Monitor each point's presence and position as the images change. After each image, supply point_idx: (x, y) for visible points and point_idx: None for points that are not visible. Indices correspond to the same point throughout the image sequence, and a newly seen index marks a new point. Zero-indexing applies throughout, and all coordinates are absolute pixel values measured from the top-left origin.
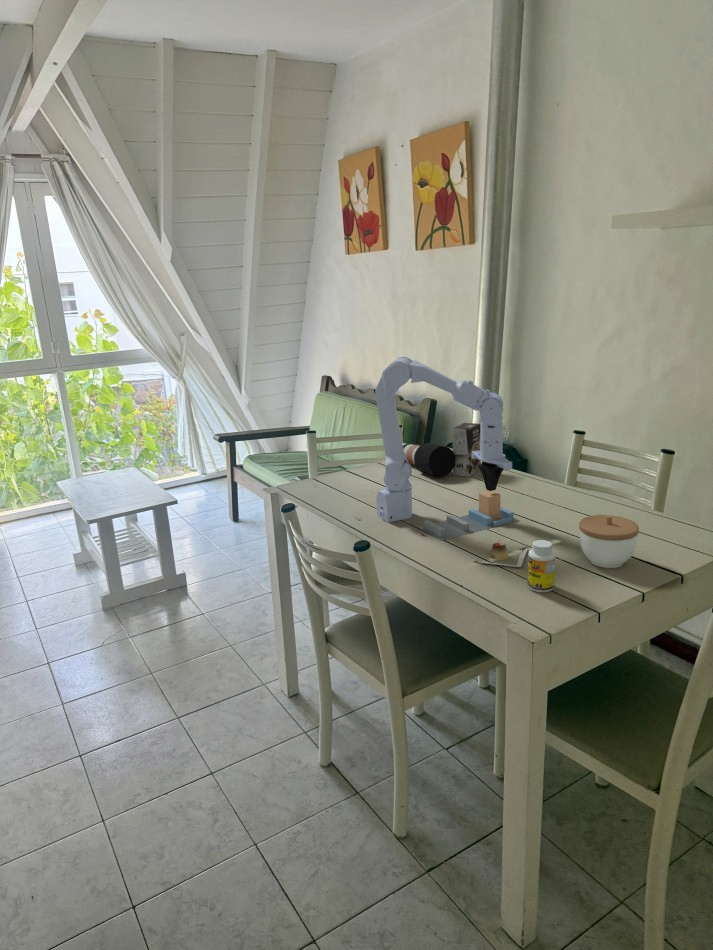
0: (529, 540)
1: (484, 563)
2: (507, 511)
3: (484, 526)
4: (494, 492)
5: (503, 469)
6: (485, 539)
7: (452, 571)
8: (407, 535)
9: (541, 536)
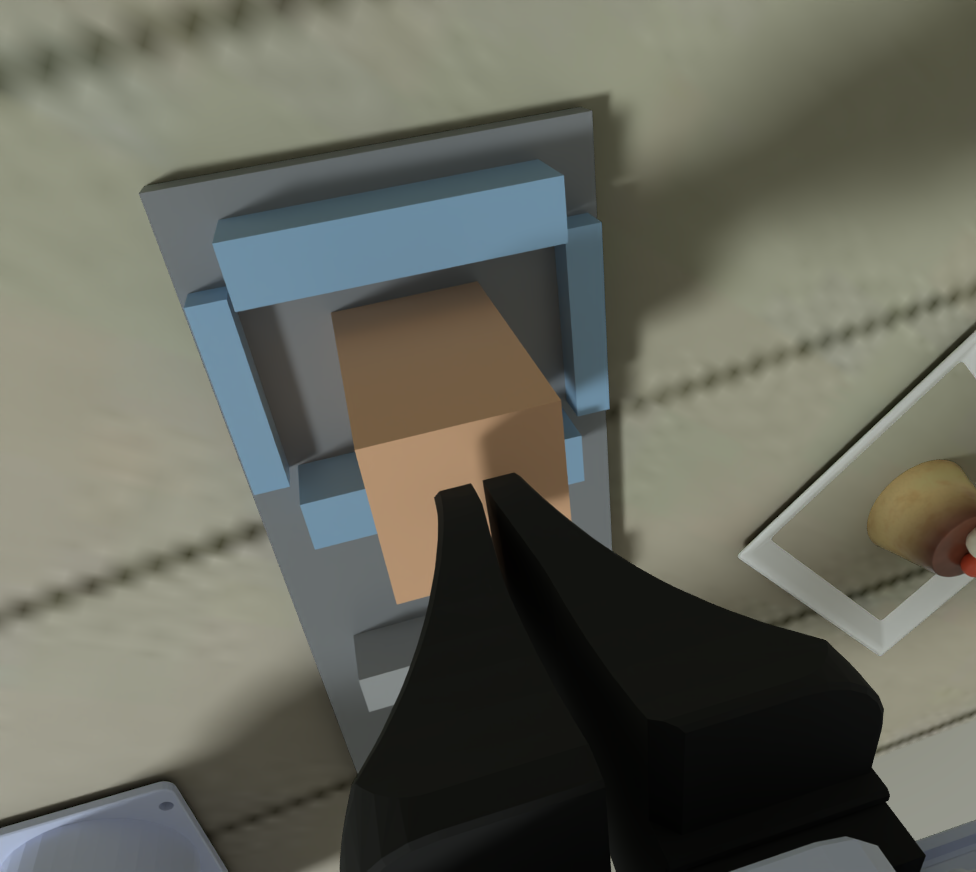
0: (898, 237)
1: (929, 594)
2: (509, 224)
3: None
4: (446, 437)
5: (795, 641)
6: (702, 499)
7: (884, 713)
8: None
9: (913, 98)
